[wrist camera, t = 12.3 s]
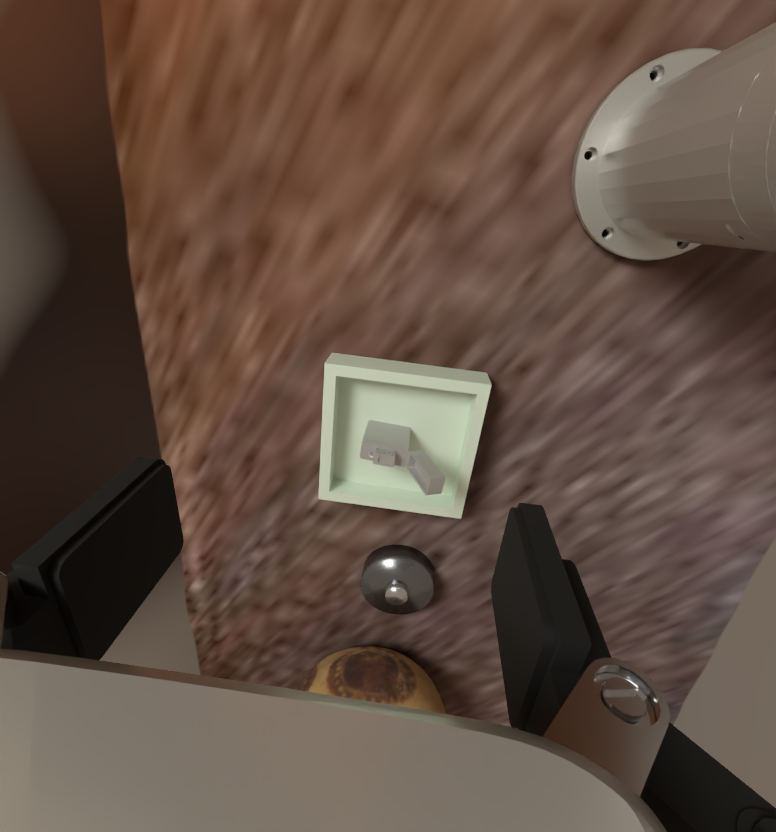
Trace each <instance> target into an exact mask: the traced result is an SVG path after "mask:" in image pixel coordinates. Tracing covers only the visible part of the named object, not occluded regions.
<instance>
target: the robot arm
mask: <svg viewBox="0 0 776 832" xmlns="http://www.w3.org/2000/svg"><path fill="white" fill-rule="evenodd" d="M650 73H653V74H654V79H653V81H652V80H651V79H650ZM586 152H589V153H590V157H589V159H588V160H586V159H585V158H584V154H585V153H586ZM572 197H573V201H574V206H575V210H576V214H577V216H578V218H579V220H580V222H581V224H582V226H583V228H584V229H585V231H586V232H587V233H588V234H589V236H590V237H591V238H592V240H594V241H595V242H596V243H597V244H599V245H600V246H601V247H602V248H604V249H605V250H607V251H610V252H612V253H614V254H616V255H618V256H622V257H626V258H629V259H637V260H659V259H665V258H669V257H673V256H677V255H681V254H683V253H685V252H687V251H690V250H692V249H694V248H696V247H698V246H700V245H701V244H706V245H715V246H724V247H734V248H743V249H752V250H761V251H770V252H776V22H775V23H773V24H771V25H770V26H768V27H766V28H764V29H762V30H761V31H759V32H757V33H755V34H753V35H752V36H750V37H748V38H746V39H744V40H743V41H741V42H739V43H737V44H735V45H733V46H732V47H730V48H728V49H726V50H724V51H720V50H716V49H711V48H689V49H685V50H681V51H676V52H672V53H669V54H666V55H664V56H662V57H660V58H657V59H655V60H653V61H651V62H649V63H647V64H645V65H644V66H642V67H641V68H639V69H638V70H636V71H635V72H633V73H632V74H631V75H629V76H628V77H627V78H626V79H624V80H623V81H622V82H621V83H619V84H618V85H617V86H616V87H615V88H614V89H613V90H612V91H611V92H610V93H609V95H608V96H607V97H606V98H605V99H604V100H603V101H602V102H601V104H600V105H599V107H598V108H597V110H596V111H595V113H594V114H593V116H592V117H591V119H590V120H589V122H588V124H587V126H586V128H585V130H584V132H583V134H582V137H581V139H580V141H579V145H578V148H577V151H576V155H575V158H574V164H573V171H572ZM603 230H606V231H607V234H606V235H605V236H604V237H602V232H603ZM677 241H679V242H680V243H679V244H678V245H677ZM182 546H183V534H182V529H181V523H180V517H179V512H178V506H177V501H176V495H175V489H174V484H173V478H172V473H171V468H170V467H169V466H168V465H166V464H165V462H164V460H162V459H156V458H148V457H139V458H137V459H136V460H135V461H133V462H132V463H131V464H130V465H129V466H127V467H126V468H125V469H124V470H123V471H122V472H120V473H119V474H118V475H117V476H115V477H114V478H113V479H112V480H111V481H109V482H108V483H107V484H106V485H105V486H103V488H101V489H100V490H99V491H98V492H96V493H95V494H94V495H93V496H92V497H90V498H89V499H88V500H87V501H86V502H84V503H83V504H82V505H81V506H80V507H78V508H77V509H76V510H75V511H74V512H72V513H71V514H70V515H69V516H68V517H66V518H65V519H64V520H63V521H62V522H60V523H59V524H58V525H57V526H56V527H54V528H53V529H52V530H51V531H50V532H48V533H47V534H46V535H45V536H44V537H42V538H41V539H40V540H39V541H38V542H36V543H35V544H34V545H33V546H32V547H30V548H29V549H28V550H27V551H26V552H25V553H23V554H22V555H21V556H20V557H19V558H17V559H16V560H15V561H14V562H13V563H12V566H13V569H14V570H13V571H11V572H10V573H9V574H8V575H7V576H5V575H4V574H3V573H1V572H0V832H776V808H774V807H773V806H772V805H771V804H769V803H768V802H767V801H766V800H764V799H763V798H762V797H761V796H759V795H758V794H757V793H756V792H755V791H753V790H752V789H751V788H750V787H749V786H747V785H746V784H745V783H744V782H742V781H741V780H740V779H739V778H737V777H736V776H735V775H733V774H732V773H731V772H730V771H729V770H728V769H726V768H725V767H724V766H722V765H721V764H720V763H719V762H718V761H716V760H715V759H714V758H712V757H711V756H710V755H709V754H708V753H706V752H705V751H704V750H703V749H701V748H700V747H699V746H698V745H697V744H695V743H694V742H693V741H691V740H690V739H689V738H688V737H687V736H686V735H684V734H683V733H682V732H681V731H679V730H678V729H677V728H675V727H674V726H673V725H672V724H671V723H669V719H670V712H669V708H668V704H667V701H666V700H665V698H664V696H663V694H662V692H661V690H660V689H659V688H658V687H657V686H656V684H655V683H654V682H653V681H652V680H651V678H649V677H648V676H647V675H646V674H644V673H643V672H642V671H641V670H640V669H638V668H636V667H635V666H633V665H631V664H629V663H628V662H625V661H622V660H619V659H616V658H611V656H610V653H609V651H608V648H607V646H606V643H605V640H604V638H603V635H602V633H601V630H600V628H599V625H598V622H597V620H596V617H595V615H594V612H593V610H592V607H591V604H590V602H589V599H588V597H587V594H586V592H585V589H584V586H583V584H582V581H581V579H580V576H579V574H578V571H577V568H576V566H575V565H574V563H573V562H572V561H571V560H563V559H561V556H560V553H559V550H558V547H557V545H556V542H555V539H554V536H553V533H552V531H551V528H550V525H549V522H548V519H547V517H546V514H545V511H544V508H543V506H541V505H534V504H526V503H519V505H518V507H517V508H513V507H512V508H511V509H510V511H509V515H508V519H507V523H506V527H505V531H504V535H503V539H502V543H501V547H500V551H499V555H498V559H497V563H496V567H495V571H494V575H493V579H492V586H491V594H492V601H493V608H494V615H495V622H496V629H497V636H498V643H499V650H500V657H501V664H502V671H503V678H504V685H505V692H506V699H507V706H508V713H509V720H510V724H511V726H512V727H508V726H503V725H499V724H495V723H490V722H486V721H481V720H477V719H471V718H465V717H460V716H454V715H448V714H443V713H437V712H431V711H426V710H420V709H414V708H408V707H402V706H396V705H389V704H383V703H377V702H370V701H364V700H358V699H351V698H345V697H339V696H332V695H326V694H320V693H313V692H307V691H300V690H294V689H287V688H281V687H274V686H268V685H261V684H254V683H248V682H241V681H235V680H228V679H221V678H215V677H208V676H201V675H195V674H188V673H182V672H175V671H168V670H160V669H154V668H147V667H140V666H133V665H127V664H120V663H112V662H106V661H99V660H100V659H101V658H102V656H103V655H104V654H105V652H106V651H107V650H108V648H109V647H110V646H111V644H112V643H113V642H114V640H115V639H116V637H117V636H118V635H119V634H120V632H121V631H122V630H123V628H124V627H125V625H126V624H127V623H128V621H129V620H130V619H131V618H132V616H133V615H134V613H135V612H136V611H137V609H138V608H139V607H140V605H141V604H142V603H143V601H144V600H145V599H146V597H147V596H148V595H149V593H150V592H151V591H152V589H153V588H154V587H155V585H156V584H157V583H158V581H159V580H160V579H161V577H162V576H163V575H164V573H165V572H166V571H167V569H168V568H169V566H170V565H171V563H172V562H173V561H174V560H175V558H176V557H177V556H178V554H179V553H180V551H181V549H182ZM516 728H518V729H516Z"/></svg>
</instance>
